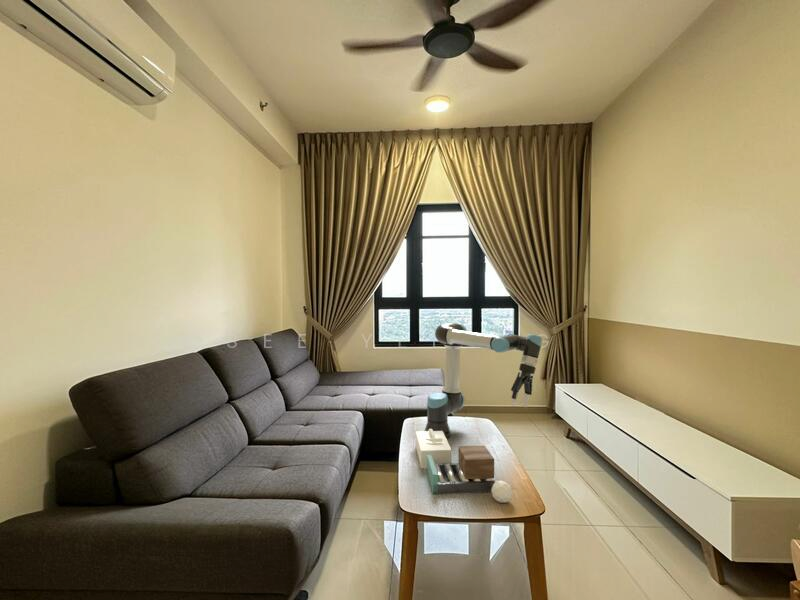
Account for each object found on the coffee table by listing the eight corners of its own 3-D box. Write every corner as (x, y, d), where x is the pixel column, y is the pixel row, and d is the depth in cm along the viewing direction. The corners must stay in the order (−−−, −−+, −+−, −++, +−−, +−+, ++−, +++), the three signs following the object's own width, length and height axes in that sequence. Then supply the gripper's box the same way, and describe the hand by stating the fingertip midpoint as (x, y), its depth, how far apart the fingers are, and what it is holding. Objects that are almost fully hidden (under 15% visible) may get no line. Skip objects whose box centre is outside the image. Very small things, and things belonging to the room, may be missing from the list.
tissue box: (421, 469, 171) (420, 445, 171) (415, 447, 196) (415, 427, 196) (451, 468, 172) (451, 445, 172) (442, 446, 197) (442, 426, 197)
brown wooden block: (458, 463, 166) (458, 446, 166) (484, 463, 166) (484, 445, 166) (465, 479, 152) (465, 459, 152) (494, 478, 152) (494, 458, 152)
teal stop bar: (427, 472, 167) (427, 455, 167) (431, 472, 167) (431, 454, 167) (433, 494, 149) (433, 474, 149) (438, 494, 149) (438, 474, 149)
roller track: (427, 472, 167) (427, 462, 167) (487, 470, 169) (487, 460, 169) (433, 494, 149) (433, 483, 149) (500, 491, 150) (500, 480, 150)
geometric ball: (496, 507, 144) (485, 486, 148) (513, 497, 146) (502, 477, 149) (500, 507, 137) (489, 485, 141) (518, 497, 139) (507, 475, 143)
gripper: (525, 363, 175) (514, 407, 173) (544, 369, 193) (534, 409, 191) (511, 359, 180) (500, 402, 178) (530, 365, 198) (520, 404, 196)
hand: (518, 405), depth 184 cm, fingers open, 13 cm apart
